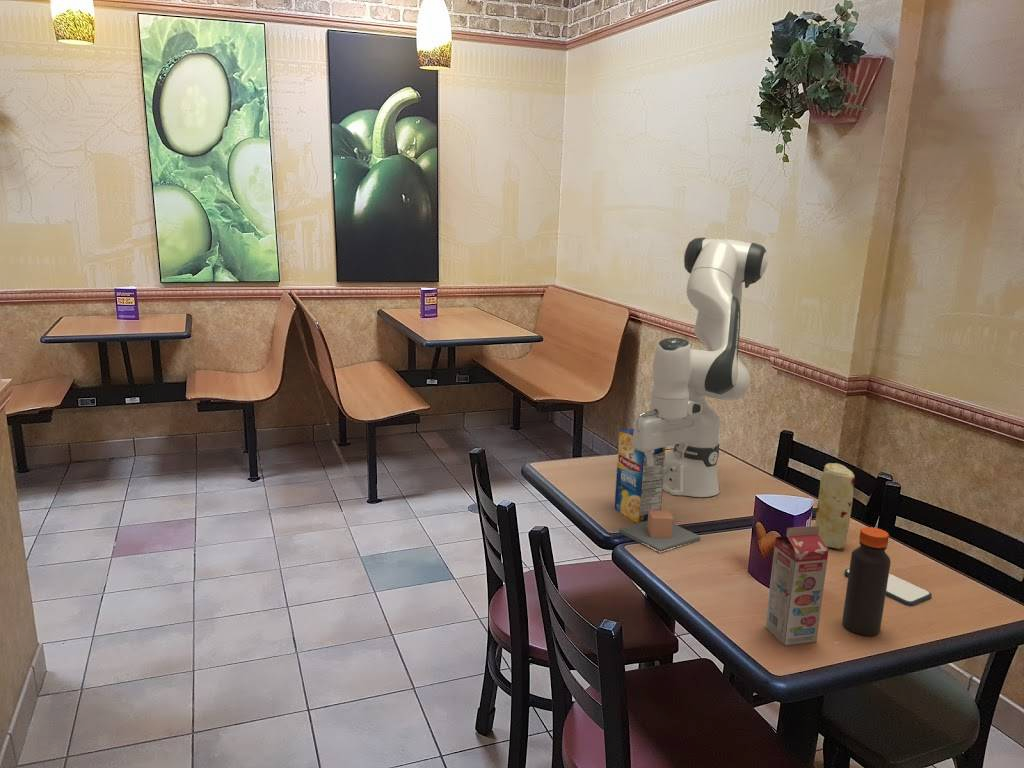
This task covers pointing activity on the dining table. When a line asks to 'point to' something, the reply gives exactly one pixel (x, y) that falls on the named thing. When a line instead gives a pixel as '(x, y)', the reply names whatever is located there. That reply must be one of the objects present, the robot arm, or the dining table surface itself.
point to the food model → (835, 504)
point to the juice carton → (797, 585)
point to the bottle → (867, 583)
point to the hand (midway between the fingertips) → (665, 462)
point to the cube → (660, 524)
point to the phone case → (903, 591)
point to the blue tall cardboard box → (637, 480)
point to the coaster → (660, 544)
